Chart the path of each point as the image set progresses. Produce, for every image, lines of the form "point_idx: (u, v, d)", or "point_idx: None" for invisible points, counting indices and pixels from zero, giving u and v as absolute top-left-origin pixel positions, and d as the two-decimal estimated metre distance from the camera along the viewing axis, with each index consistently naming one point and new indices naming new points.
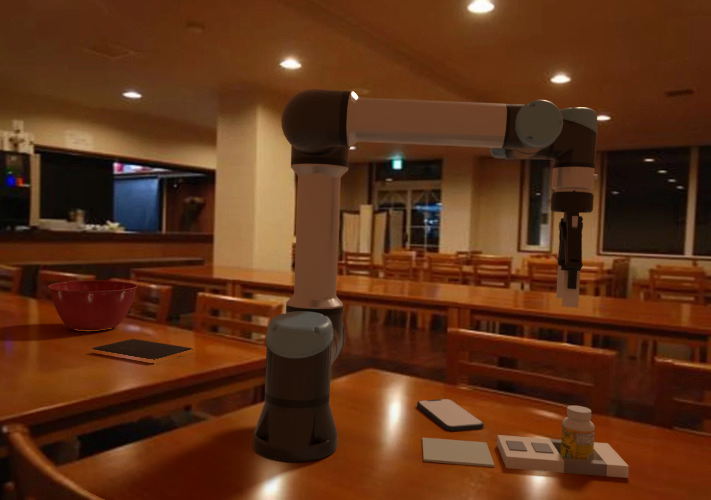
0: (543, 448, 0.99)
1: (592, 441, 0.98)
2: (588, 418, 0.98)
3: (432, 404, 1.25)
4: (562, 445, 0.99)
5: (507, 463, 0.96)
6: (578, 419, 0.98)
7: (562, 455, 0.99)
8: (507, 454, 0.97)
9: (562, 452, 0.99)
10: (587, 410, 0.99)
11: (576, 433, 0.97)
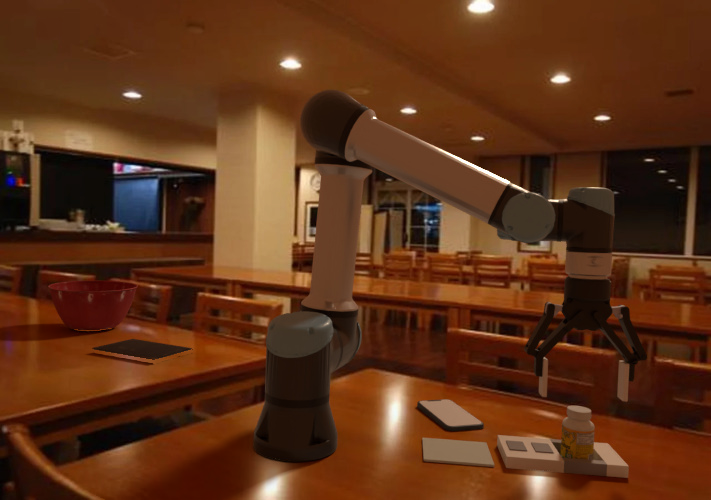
0: (543, 448, 0.99)
1: (592, 441, 0.98)
2: (588, 418, 0.98)
3: (432, 404, 1.25)
4: (562, 445, 0.99)
5: (507, 463, 0.96)
6: (578, 419, 0.98)
7: (562, 455, 0.99)
8: (507, 454, 0.97)
9: (562, 452, 0.99)
10: (587, 410, 0.99)
11: (576, 433, 0.97)
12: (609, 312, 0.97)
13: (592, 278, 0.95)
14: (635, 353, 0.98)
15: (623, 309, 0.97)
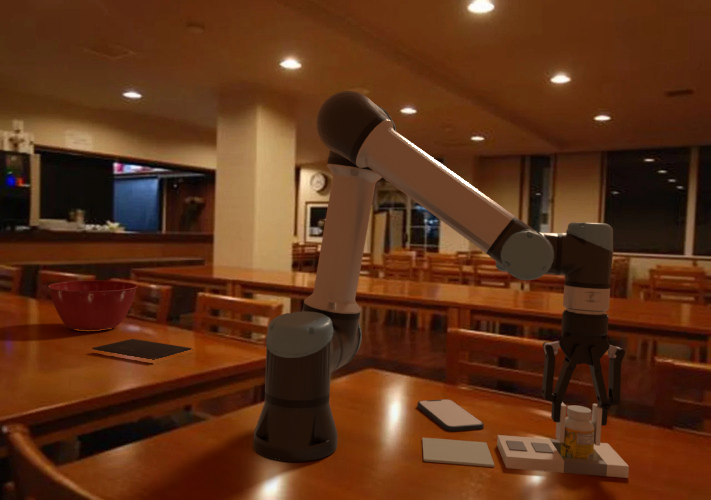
0: (543, 448, 0.99)
1: (592, 441, 0.98)
2: (588, 418, 0.98)
3: (432, 404, 1.25)
4: (562, 445, 0.99)
5: (507, 463, 0.96)
6: (579, 418, 0.98)
7: (562, 455, 0.99)
8: (507, 454, 0.97)
9: (562, 452, 0.99)
10: (588, 410, 0.99)
11: (576, 433, 0.97)
12: (606, 347, 0.97)
13: (590, 313, 0.95)
14: (608, 397, 0.99)
15: (619, 351, 0.97)
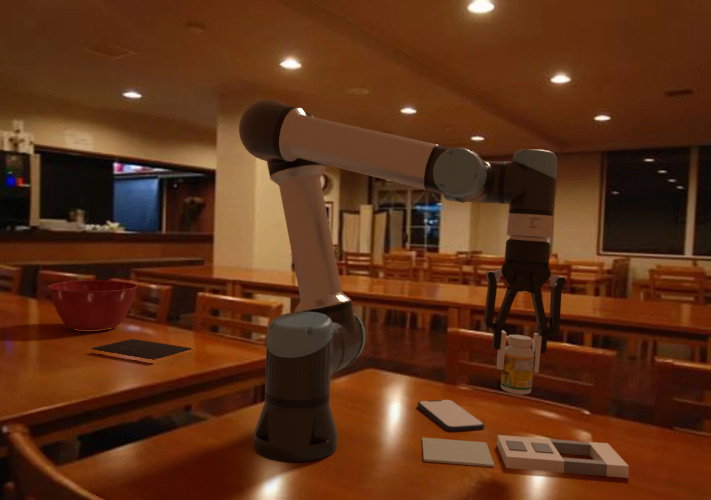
0: (543, 448, 0.99)
1: (531, 368, 0.98)
2: (528, 345, 0.98)
3: (433, 404, 1.25)
4: (502, 372, 1.00)
5: (507, 463, 0.96)
6: (518, 345, 0.98)
7: (502, 382, 1.00)
8: (507, 454, 0.97)
9: (502, 379, 1.00)
10: (528, 338, 0.99)
11: (515, 359, 0.98)
12: (547, 275, 0.98)
13: (531, 239, 0.96)
14: (549, 326, 0.99)
15: (560, 279, 0.98)
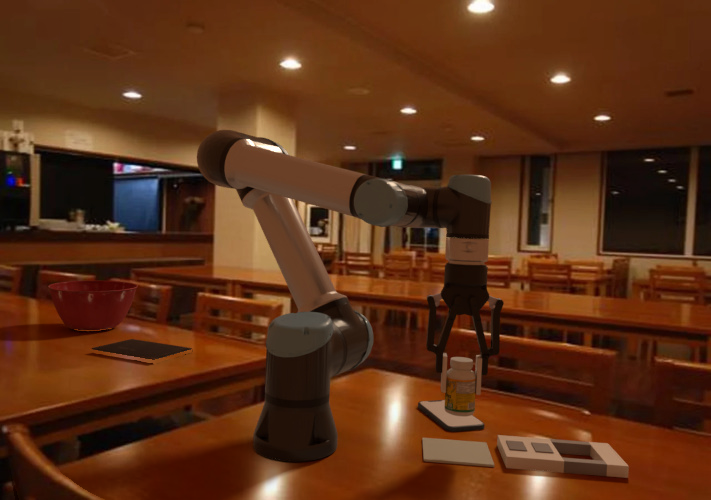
0: (543, 448, 0.99)
1: (472, 390, 0.99)
2: (468, 367, 0.99)
3: (433, 405, 1.25)
4: (445, 395, 1.01)
5: (507, 463, 0.96)
6: (459, 368, 0.99)
7: (445, 405, 1.01)
8: (507, 454, 0.97)
9: (445, 402, 1.01)
10: (469, 360, 1.00)
11: (456, 381, 0.99)
12: (485, 297, 0.99)
13: (467, 263, 0.97)
14: (489, 348, 1.00)
15: (498, 301, 0.99)
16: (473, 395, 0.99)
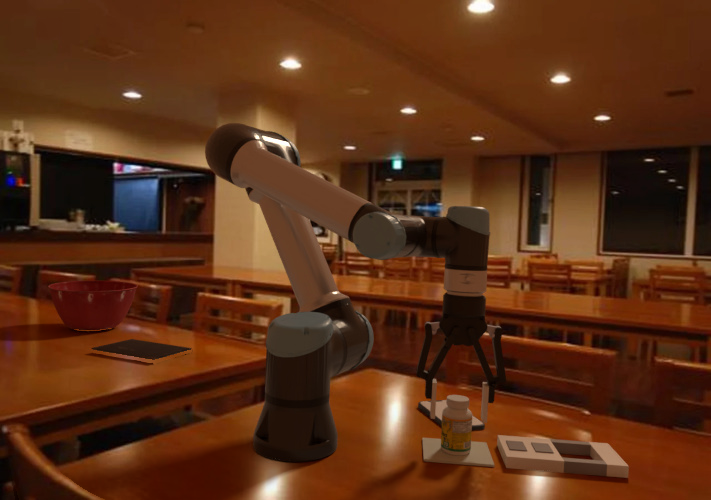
0: (543, 448, 0.99)
1: (468, 429, 0.99)
2: (465, 407, 1.00)
3: None
4: (441, 433, 1.01)
5: (507, 463, 0.96)
6: (455, 407, 0.99)
7: (441, 443, 1.01)
8: (507, 454, 0.97)
9: (441, 440, 1.01)
10: (465, 399, 1.00)
11: (452, 421, 0.99)
12: (483, 328, 0.99)
13: (465, 295, 0.97)
14: (496, 375, 1.00)
15: (497, 330, 0.99)
16: (469, 434, 1.00)
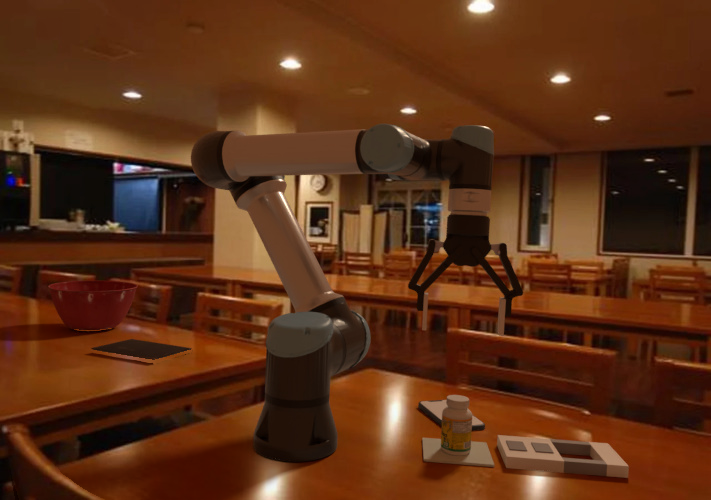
0: (543, 448, 0.99)
1: (468, 429, 0.99)
2: (465, 407, 1.00)
3: (433, 405, 1.25)
4: (441, 433, 1.01)
5: (507, 463, 0.96)
6: (455, 407, 0.99)
7: (441, 443, 1.01)
8: (507, 454, 0.97)
9: (441, 440, 1.01)
10: (465, 399, 1.00)
11: (452, 421, 0.99)
12: (487, 248, 0.99)
13: (469, 214, 0.98)
14: (513, 289, 1.00)
15: (501, 245, 0.99)
16: (469, 434, 1.00)
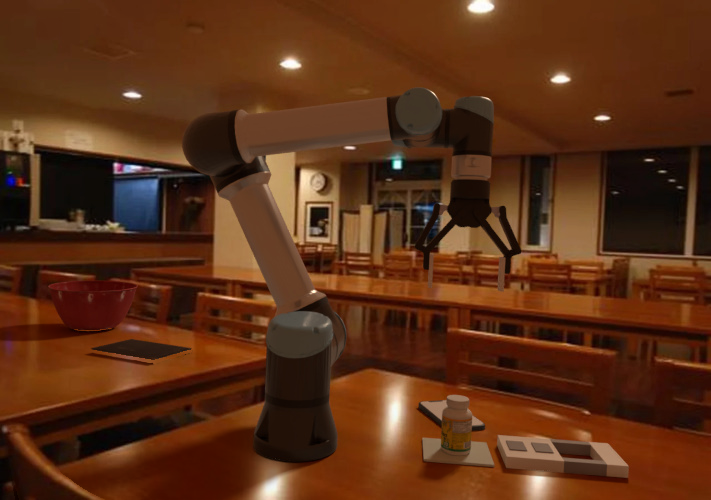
0: (543, 448, 0.99)
1: (468, 429, 0.99)
2: (465, 407, 1.00)
3: (433, 405, 1.25)
4: (441, 433, 1.01)
5: (507, 463, 0.96)
6: (455, 407, 0.99)
7: (441, 443, 1.01)
8: (507, 454, 0.97)
9: (441, 440, 1.01)
10: (465, 399, 1.00)
11: (452, 421, 0.99)
12: (488, 211, 1.08)
13: (471, 178, 1.06)
14: (512, 249, 1.09)
15: (500, 208, 1.07)
16: (469, 434, 1.00)
